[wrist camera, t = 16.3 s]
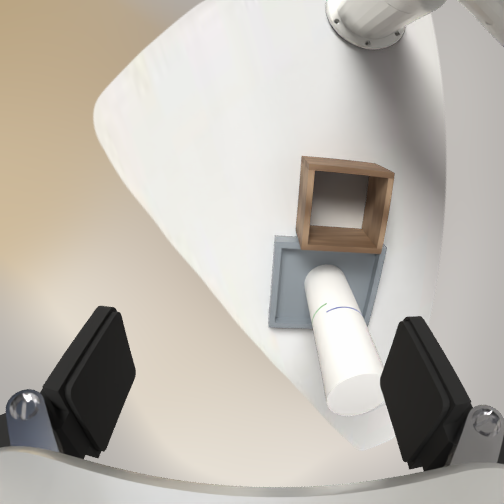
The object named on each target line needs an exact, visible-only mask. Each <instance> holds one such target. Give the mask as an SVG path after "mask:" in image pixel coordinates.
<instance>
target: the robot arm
mask: <svg viewBox="0 0 504 504" xmlns="http://www.w3.org/2000/svg"><path fill="white" fill-rule="evenodd" d="M457 1H458V2H459V3H460V4H461V5H462V6H464V8H466V9H467V10H468V11H469V12H470V13H471V14H472V15H473V16H474V17H475V18H476V19H477V20H478V21H479V22H480V23H481V25H482V26H483V27H484V28H485V29H486V30H487V31H488V32H489V33H490V34H491V35H492V36H493V37H494V38H495V39H496V40H497V41H498V42H499V43H500V44H501V45H502V46H503V47H504V0H457ZM445 2H446V0H326V13H327V17H328V19H329V22H330V24H331V25H332V27H333V28H334V30H335V31H336V32H337V33H338V34H339V35H340V36H341V37H342V38H344V39H345V40H346V41H348V42H350V43H351V44H353V45H356V46H358V47H361V48H365V49H373V50H377V49H383V48H386V47H389V46H391V45H393V44H394V43H396V42H397V41H398V40H399V39H400V38H401V37H402V35H403V32H404V30H405V26H406V25H408V24H410V23H412V22H414V21H416V20H418V19H420V18H422V17H424V16H425V15H427V14H429V13H431V12H433V11H435V10H437V9H438V8H440V7H441V6H442V5H443V4H444V3H445ZM334 22H337V24H336V23H334ZM395 34H396V35H395ZM365 43H367V44H368V45H366V44H365ZM135 375H136V370H135V366H134V363H133V359H132V355H131V351H130V348H129V344H128V340H127V336H126V332H125V328H124V325H123V320H122V316H121V314H120V312H117V310H116V309H115V308H114V307H107V306H98V307H97V308H96V310H95V311H94V313H93V314H92V316H91V317H90V318H89V319H88V321H87V322H86V324H85V325H84V326H83V328H82V329H81V330H80V332H79V333H78V335H77V336H76V338H75V339H74V340H73V342H72V343H71V345H70V346H69V348H68V349H67V351H66V352H65V353H64V355H63V356H62V358H61V359H60V361H59V362H58V364H57V365H56V367H55V368H54V370H53V371H52V373H51V375H50V376H49V378H48V379H47V381H46V382H45V384H44V385H43V389H42V391H41V392H40V393H39V392H37V391H35V390H31V389H27V390H22V391H19V392H17V393H15V394H14V395H13V396H12V397H11V398H10V399H9V400H8V402H7V405H6V413H5V414H2V415H0V504H504V418H503V417H502V415H501V413H500V412H499V411H497V410H496V409H495V408H493V407H491V406H487V405H478V406H476V407H474V408H473V407H472V405H471V400H470V398H469V397H468V395H467V393H466V391H465V389H464V387H463V385H462V384H461V382H460V380H459V378H458V376H457V374H456V373H455V371H454V369H453V367H452V366H451V364H450V362H449V360H448V359H447V357H446V355H445V353H444V352H443V350H442V348H441V347H440V345H439V343H438V342H437V340H436V338H435V337H434V335H433V333H432V332H431V330H430V329H429V327H428V325H427V324H426V322H425V321H424V319H423V318H422V317H420V316H418V317H406V318H405V319H404V320H403V321H401V322H400V323H399V325H398V328H397V331H396V334H395V337H394V340H393V343H392V346H391V349H390V352H389V355H388V358H387V361H386V363H385V366H384V369H383V372H382V374H381V377H380V387H381V390H382V393H383V397H384V400H385V403H386V406H387V409H388V412H389V415H390V419H391V422H392V425H393V428H394V432H395V435H396V438H397V441H398V445H399V449H400V452H401V455H402V459H403V461H404V462H407V463H408V466H409V469H414V468H418V467H423V470H424V472H419V473H415V474H410V475H404V476H399V477H393V478H386V479H381V480H374V481H367V482H359V483H350V484H342V485H341V484H340V485H329V486H313V487H283V488H282V487H275V488H274V487H242V486H225V485H214V484H205V483H196V482H188V481H181V480H174V479H168V478H162V477H156V476H150V475H145V474H141V473H136V472H131V471H126V470H123V469H118V468H114V467H110V466H106V465H102V464H98V463H94V462H91V461H87V460H84V457H85V455H89V456H92V457H95V458H99V455H100V453H101V451H105V450H106V448H107V446H108V443H109V440H110V438H111V435H112V433H113V430H114V428H115V425H116V423H117V420H118V418H119V415H120V413H121V410H122V408H123V405H124V403H125V400H126V398H127V395H128V393H129V391H130V388H131V386H132V384H133V381H134V379H135Z"/></svg>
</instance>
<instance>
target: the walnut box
mask: <svg viewBox="0 0 504 504" xmlns="http://www.w3.org/2000/svg"><path fill="white" fill-rule="evenodd" d="M315 171H326V172H337V173H347V174H357V175H366V176H369V181H368V189H367V197H366V204H365V211H364V217H363V224H362V229H355V228H341V227H326V226H310V217H311V207H312V197H313V186H314V175H315ZM394 174H395V173H394V172H392V171H390V170H388V169H385V168H383V167H381V166H379V165H377V164H375V163H367V162H358V161H350V160H340V159H330V158H320V157H308V156H302V159H301V173H300V186H299V198H298V210H297V221H296V232H297V236H298V240H299V244H300V248H301V250H314V251H333V252H352V253H370V254H381V252H382V247H383V242H384V236H385V231H386V226H387V220H388V214H389V208H390V202H391V195H392V189H393V182H394Z"/></svg>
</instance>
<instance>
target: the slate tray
mask: <svg viewBox="0 0 504 504" xmlns="http://www.w3.org/2000/svg"><path fill="white" fill-rule="evenodd" d="M386 249H387V247H386V246H385V245H384V244H383V247H382V252H381V254H370V253H352V252H333V251H314V250H301V248H300V244H299V240H298V237H292V236H275V242H274V256H273V269H272V282H271V295H270V307H269V327H277V328H310V329H313V327H312V322H311V317H310V312H309V307H308V302H307V298H306V293H305V288H304V282H305V279H306V276H307V275H308V273H309V272H310V271H311V270H312V269H314V268H315V267H317V266H320V265H326V264H328V265H334V266H336V267H338V268H339V269H341V270H342V272H343V273H344V275H345V277H346V280H347V282H348V284H349V286H350V289H351V291H352V293H353V295H354V298H355V300H356V302H357V304H358V307H359V309H360V311H361V314H362V316H363V318H364V321H365V323H366V325H367V327H368V324H369V320H370V316H371V313H372V309H373V305H374V301H375V297H376V293H377V289H378V285H379V281H380V276H381V272H382V268H383V263H384V259H385V254H386Z"/></svg>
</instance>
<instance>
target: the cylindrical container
mask: <svg viewBox="0 0 504 504" xmlns="http://www.w3.org/2000/svg"><path fill="white" fill-rule="evenodd" d="M304 288H305V293H306V298H307V302H308V307H309V312H310V317H311V322H312V327H313V332H314V337H315V342H316V347H317V352H318V358H319V363H320V368H321V374H322V379H323V385H324V390H325V396H326V402H327V406H328V408H329V409H330V410H331V411H332V412H333V413H335V414H338V415H341V416H356V415H361V414H364V413H367V412H369V411H371V410H373V409H375V408H377V407H378V406H379V405H381V404H382V403H383V402H384V401H385V400H384V397H383V393H382V390H381V387H380V377H381V374H382V372H383V369H384V367H383V364H382V362H381V359H380V357H379V354H378V352H377V349H376V347H375V345H374V342H373V340H372V337H371V335H370V332H369V330H368V328H367V325H366V323H365V321H364V318H363V316H362V314H361V311H360V309H359V307H358V304H357V302H356V300H355V298H354V295H353V293H352V291H351V289H350V286H349V284H348V282H347V280H346V277H345V275H344V273H343V272H342V270H341V269H339V268H338V267H336V266H334V265H328V264H326V265H320V266H317V267H315V268H314V269H312V270H311V271H310V272H309V273H308V275H307V276H306V279H305V282H304Z"/></svg>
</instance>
